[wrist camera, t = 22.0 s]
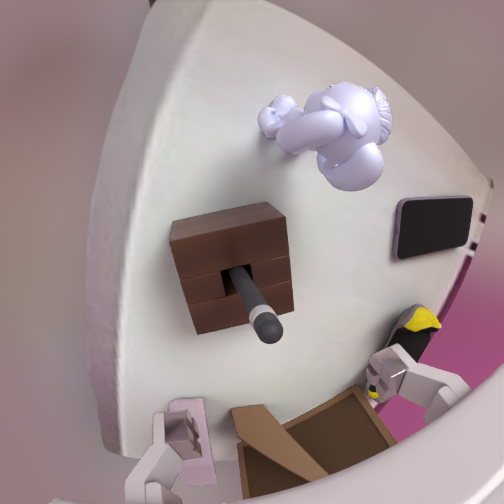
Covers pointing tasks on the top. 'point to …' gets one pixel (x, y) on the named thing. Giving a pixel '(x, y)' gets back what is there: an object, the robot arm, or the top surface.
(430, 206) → the smartphone
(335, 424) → the photo frame
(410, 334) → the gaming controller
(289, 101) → the toy figurine
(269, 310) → the stylus
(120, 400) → the top surface
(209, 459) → the electronic device
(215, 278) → the pen block
